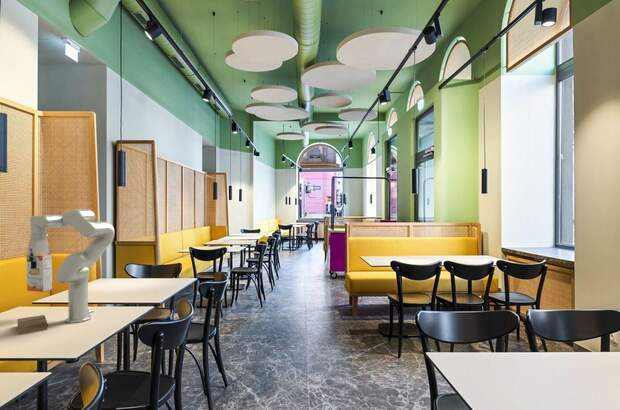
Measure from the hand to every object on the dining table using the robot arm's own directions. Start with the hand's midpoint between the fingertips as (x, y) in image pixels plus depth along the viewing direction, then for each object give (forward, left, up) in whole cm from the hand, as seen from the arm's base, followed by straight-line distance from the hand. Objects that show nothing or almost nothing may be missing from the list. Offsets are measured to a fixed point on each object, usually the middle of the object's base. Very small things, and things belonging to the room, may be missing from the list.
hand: (39, 267), depth 226 cm
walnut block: (+17, +14, -29) cm, 37 cm away
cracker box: (0, 0, -14) cm, 14 cm away
